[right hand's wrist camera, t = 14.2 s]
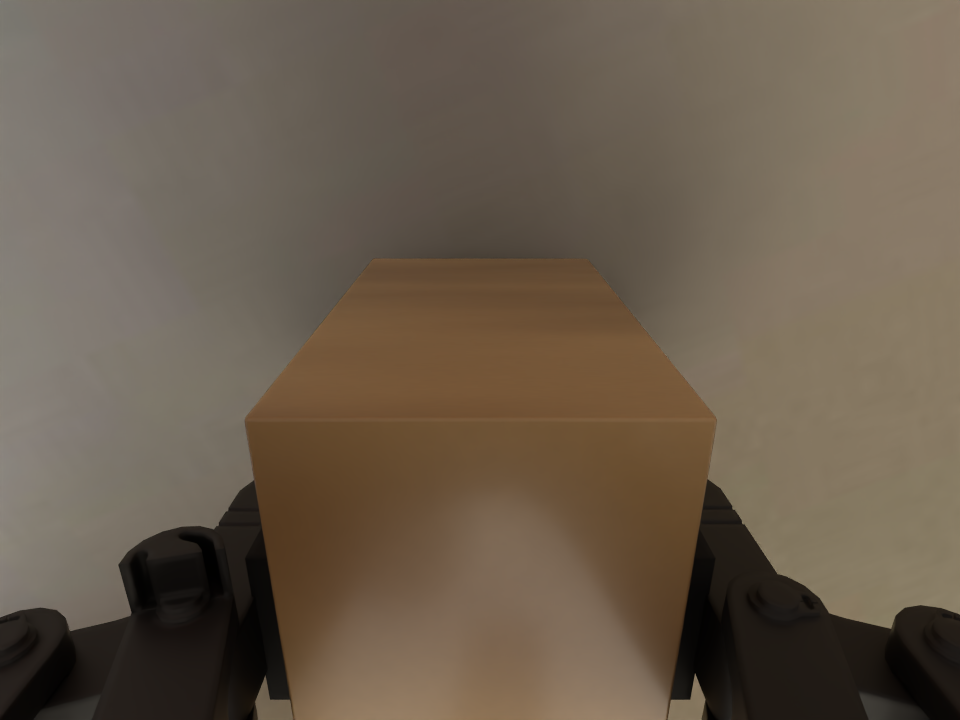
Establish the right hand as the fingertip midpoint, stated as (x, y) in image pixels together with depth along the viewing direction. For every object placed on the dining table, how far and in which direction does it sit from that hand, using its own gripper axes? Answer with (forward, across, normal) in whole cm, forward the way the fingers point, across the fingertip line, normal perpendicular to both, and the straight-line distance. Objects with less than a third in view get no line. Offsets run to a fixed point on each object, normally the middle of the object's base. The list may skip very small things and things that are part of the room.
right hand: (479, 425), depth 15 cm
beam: (+1, 0, -23) cm, 23 cm away
